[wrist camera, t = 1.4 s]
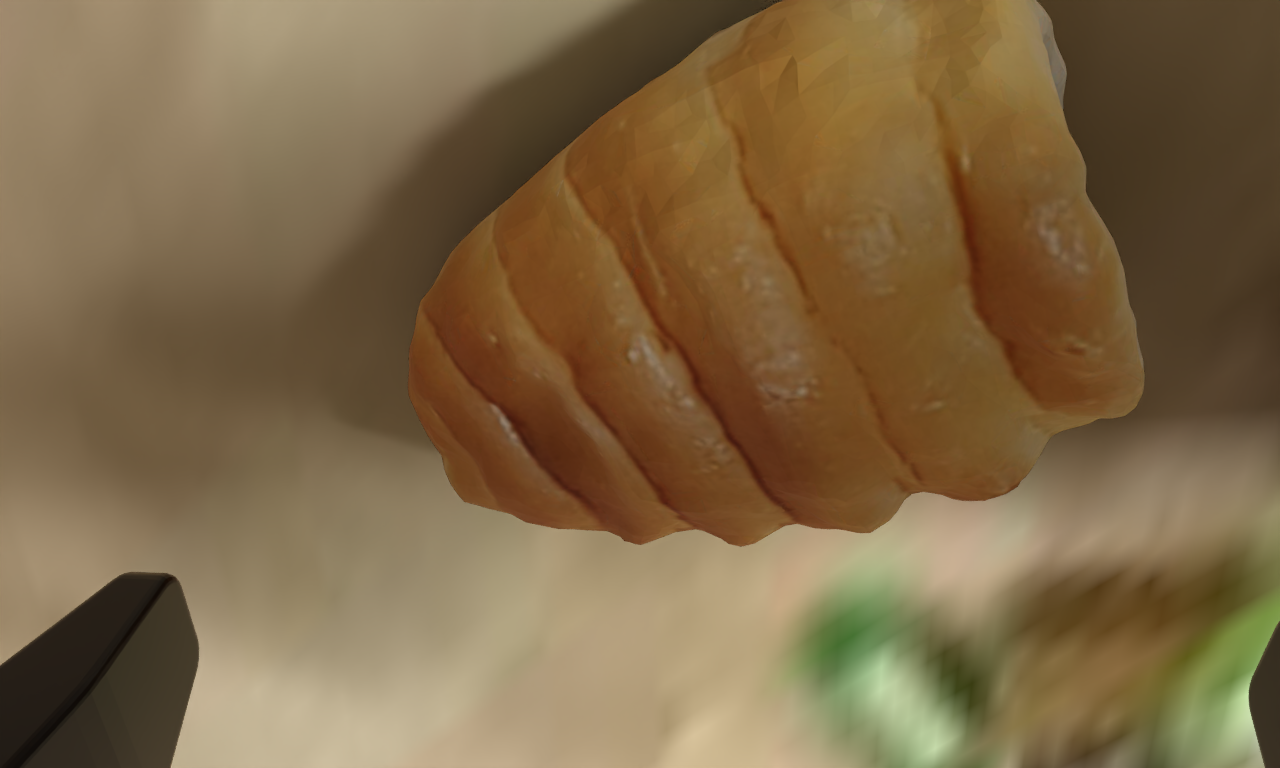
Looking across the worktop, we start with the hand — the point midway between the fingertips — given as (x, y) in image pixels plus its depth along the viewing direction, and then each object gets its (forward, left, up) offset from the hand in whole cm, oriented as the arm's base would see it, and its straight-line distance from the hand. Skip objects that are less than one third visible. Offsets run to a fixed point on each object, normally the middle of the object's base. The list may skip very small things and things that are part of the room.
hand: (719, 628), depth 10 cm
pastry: (+2, -1, -9) cm, 9 cm away
